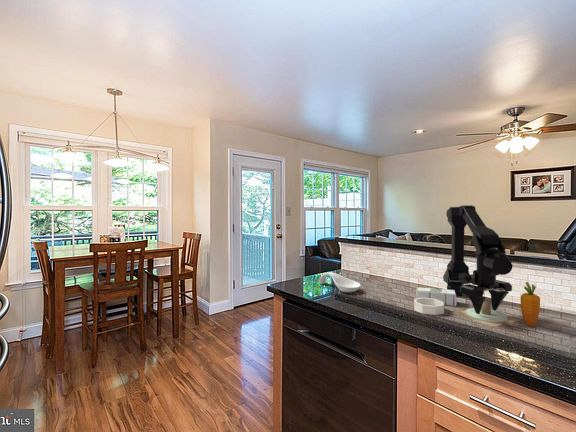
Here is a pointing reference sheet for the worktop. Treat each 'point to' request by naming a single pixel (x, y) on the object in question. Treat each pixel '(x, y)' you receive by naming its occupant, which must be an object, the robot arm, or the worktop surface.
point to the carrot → (530, 305)
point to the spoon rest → (341, 282)
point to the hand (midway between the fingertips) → (486, 312)
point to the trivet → (509, 320)
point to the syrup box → (438, 295)
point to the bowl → (429, 306)
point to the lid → (487, 314)
